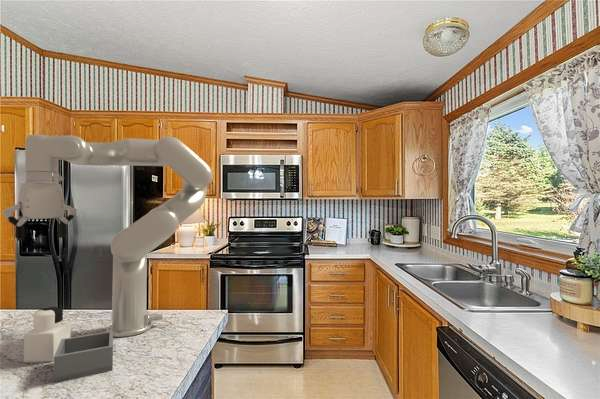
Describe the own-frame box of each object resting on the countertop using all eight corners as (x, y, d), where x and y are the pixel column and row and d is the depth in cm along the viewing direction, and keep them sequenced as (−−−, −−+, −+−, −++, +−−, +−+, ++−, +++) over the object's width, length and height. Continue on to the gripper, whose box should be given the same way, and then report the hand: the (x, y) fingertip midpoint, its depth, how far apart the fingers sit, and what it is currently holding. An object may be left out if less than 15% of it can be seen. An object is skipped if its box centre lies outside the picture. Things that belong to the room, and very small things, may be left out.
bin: (112, 351, 87) (113, 330, 87) (112, 370, 78) (112, 346, 78) (60, 361, 82) (61, 339, 82) (53, 382, 72) (53, 357, 72)
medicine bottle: (42, 350, 88) (43, 305, 88) (70, 349, 89) (71, 304, 89) (22, 363, 81) (23, 314, 81) (53, 362, 82) (54, 313, 82)
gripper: (70, 181, 103) (70, 235, 103) (-3, 177, 89) (-3, 241, 88) (81, 180, 99) (81, 237, 99) (8, 176, 85) (8, 243, 84)
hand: (42, 239), depth 94 cm, fingers open, 9 cm apart
